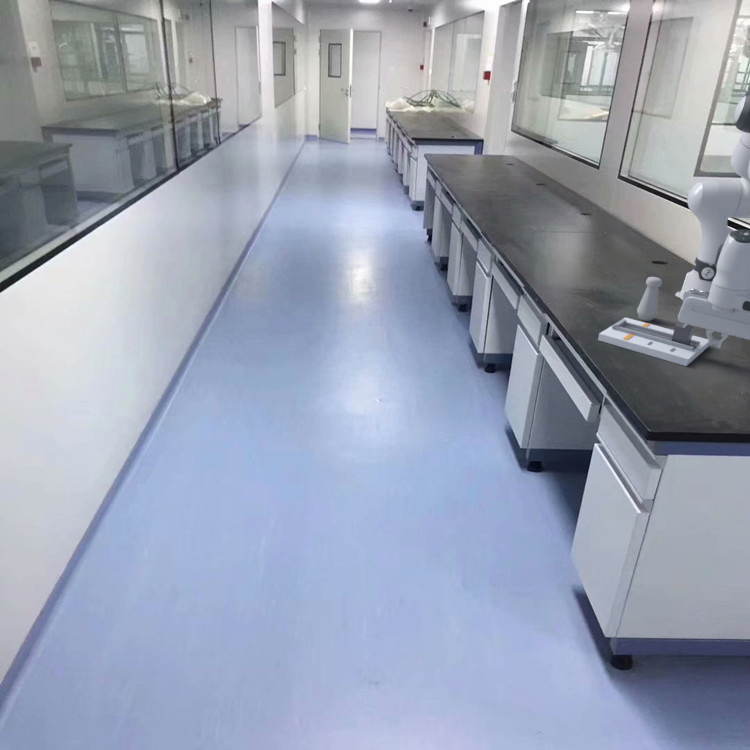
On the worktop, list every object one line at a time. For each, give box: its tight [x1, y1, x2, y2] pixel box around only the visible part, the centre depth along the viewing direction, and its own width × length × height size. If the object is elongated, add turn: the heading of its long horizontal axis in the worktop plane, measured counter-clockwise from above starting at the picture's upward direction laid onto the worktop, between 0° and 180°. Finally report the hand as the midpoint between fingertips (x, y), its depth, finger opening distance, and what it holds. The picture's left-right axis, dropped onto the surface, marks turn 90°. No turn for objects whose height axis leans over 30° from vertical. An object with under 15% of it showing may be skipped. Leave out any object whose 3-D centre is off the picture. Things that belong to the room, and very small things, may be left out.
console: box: [597, 317, 710, 367], centre depth 173 cm, size 18×24×4 cm
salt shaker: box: [636, 276, 663, 322], centre depth 188 cm, size 6×6×13 cm
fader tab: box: [672, 322, 695, 345], centre depth 167 cm, size 3×4×5 cm
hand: (713, 346), depth 163 cm, fingers closed
